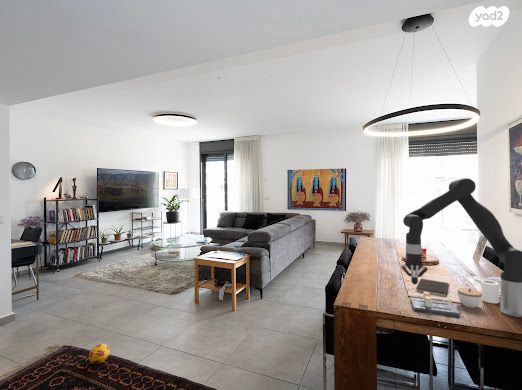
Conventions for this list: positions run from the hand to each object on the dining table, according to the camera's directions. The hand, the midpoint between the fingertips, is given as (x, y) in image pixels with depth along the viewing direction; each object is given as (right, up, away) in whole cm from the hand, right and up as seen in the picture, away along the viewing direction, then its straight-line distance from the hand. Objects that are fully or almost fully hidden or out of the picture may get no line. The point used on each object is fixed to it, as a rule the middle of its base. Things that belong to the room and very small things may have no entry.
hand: (414, 283), depth 148 cm
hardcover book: (+28, -13, +29) cm, 42 cm away
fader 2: (+5, -11, -3) cm, 12 cm away
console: (+10, -13, 0) cm, 16 cm away
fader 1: (+8, -10, +3) cm, 14 cm away
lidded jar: (+32, -13, +3) cm, 34 cm away
